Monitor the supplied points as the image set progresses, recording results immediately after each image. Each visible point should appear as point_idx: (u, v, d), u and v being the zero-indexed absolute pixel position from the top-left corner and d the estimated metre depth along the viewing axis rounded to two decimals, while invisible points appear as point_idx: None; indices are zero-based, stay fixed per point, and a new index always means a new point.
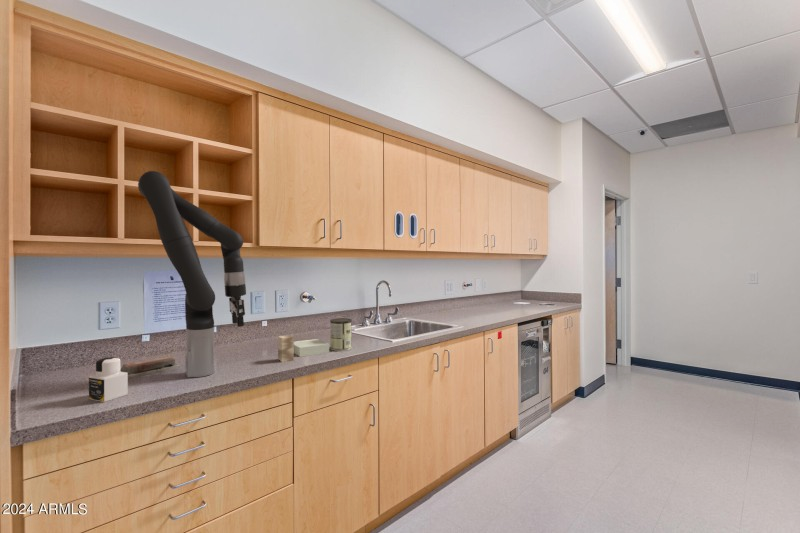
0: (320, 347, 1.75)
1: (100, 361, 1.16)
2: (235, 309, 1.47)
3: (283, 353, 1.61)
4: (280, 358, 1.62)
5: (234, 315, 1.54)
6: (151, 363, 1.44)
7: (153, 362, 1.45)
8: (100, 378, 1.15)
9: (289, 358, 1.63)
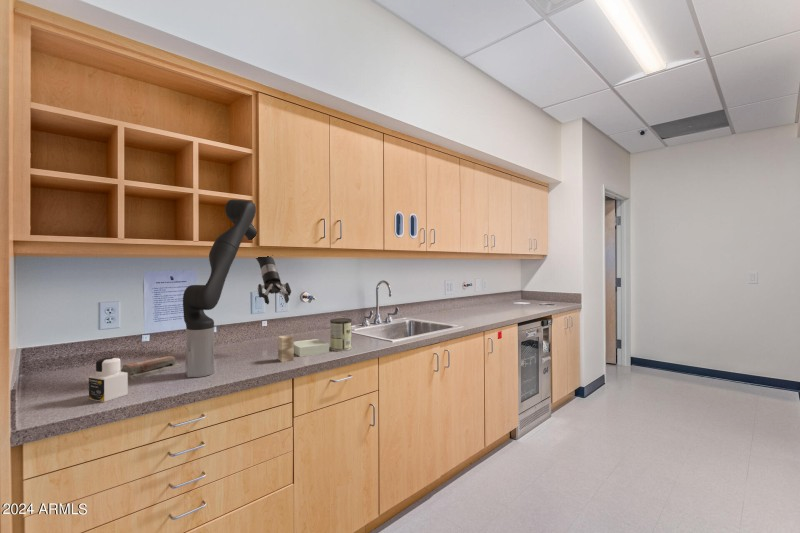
0: (320, 347, 1.75)
1: (100, 361, 1.16)
2: (283, 288, 1.79)
3: (283, 353, 1.61)
4: (280, 358, 1.62)
5: None
6: (152, 363, 1.45)
7: (155, 362, 1.46)
8: (100, 378, 1.15)
9: (289, 358, 1.63)
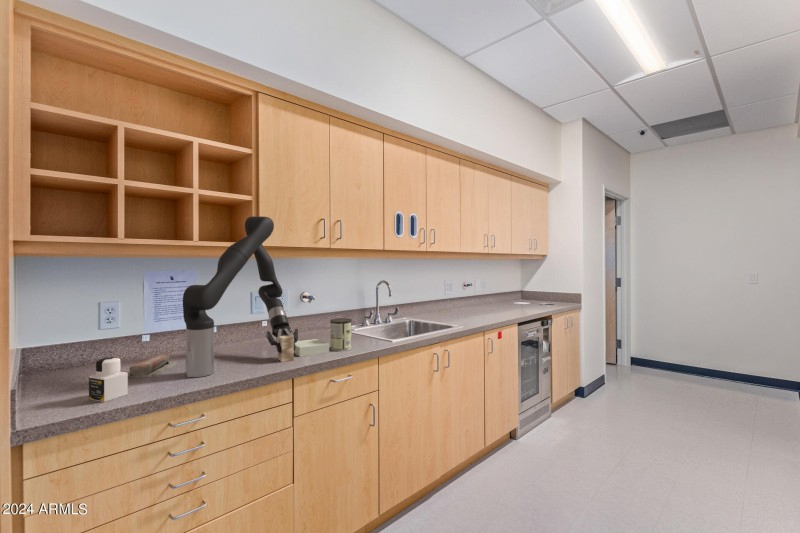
0: (320, 347, 1.75)
1: (100, 361, 1.16)
2: (291, 335, 1.67)
3: (283, 353, 1.61)
4: (280, 358, 1.62)
5: None
6: (158, 362, 1.47)
7: (158, 360, 1.47)
8: (100, 378, 1.15)
9: (289, 358, 1.62)
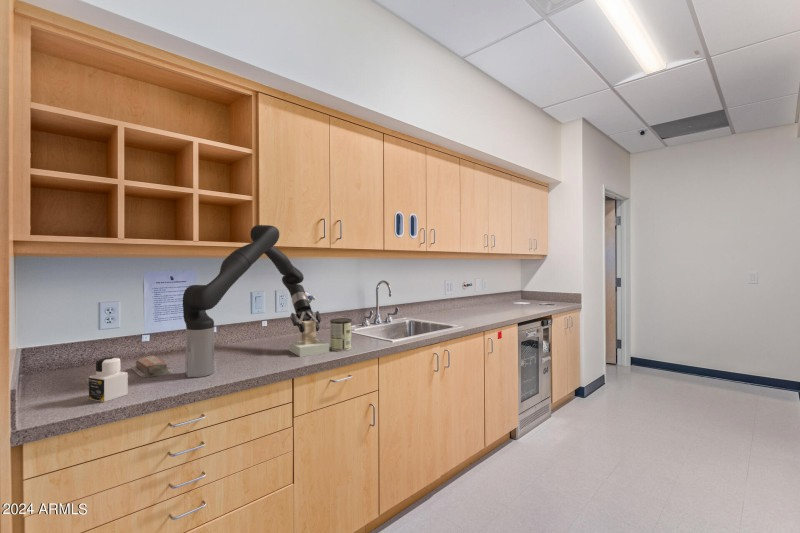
0: (320, 347, 1.75)
1: (100, 361, 1.16)
2: (314, 317, 1.83)
3: (306, 336, 1.76)
4: (303, 341, 1.78)
5: None
6: None
7: (159, 359, 1.49)
8: (100, 378, 1.15)
9: (312, 341, 1.78)
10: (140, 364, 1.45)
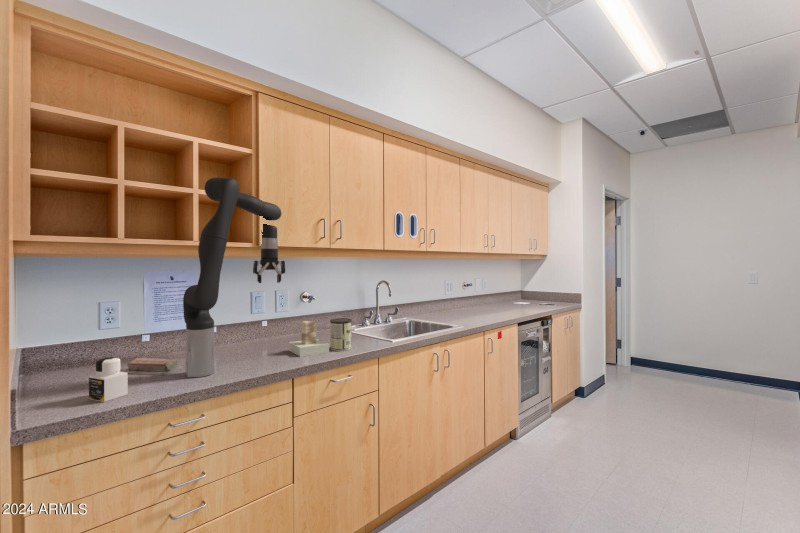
0: (320, 347, 1.75)
1: (100, 361, 1.16)
2: (278, 268, 1.80)
3: (306, 336, 1.76)
4: (303, 341, 1.78)
5: None
6: None
7: None
8: (100, 378, 1.15)
9: (312, 341, 1.78)
10: (143, 365, 1.44)
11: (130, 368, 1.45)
